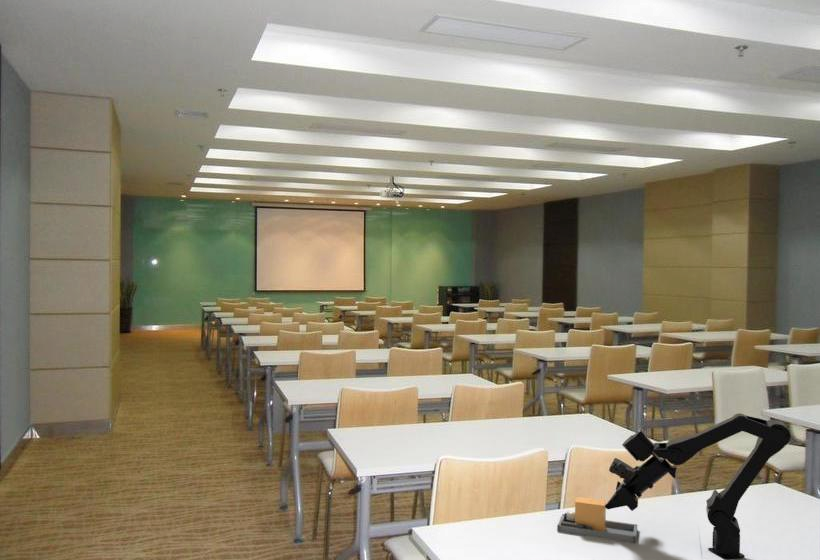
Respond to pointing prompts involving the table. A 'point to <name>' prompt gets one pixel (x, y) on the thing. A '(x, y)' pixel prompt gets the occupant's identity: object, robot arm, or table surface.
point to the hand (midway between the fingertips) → (606, 507)
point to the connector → (589, 513)
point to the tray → (611, 531)
